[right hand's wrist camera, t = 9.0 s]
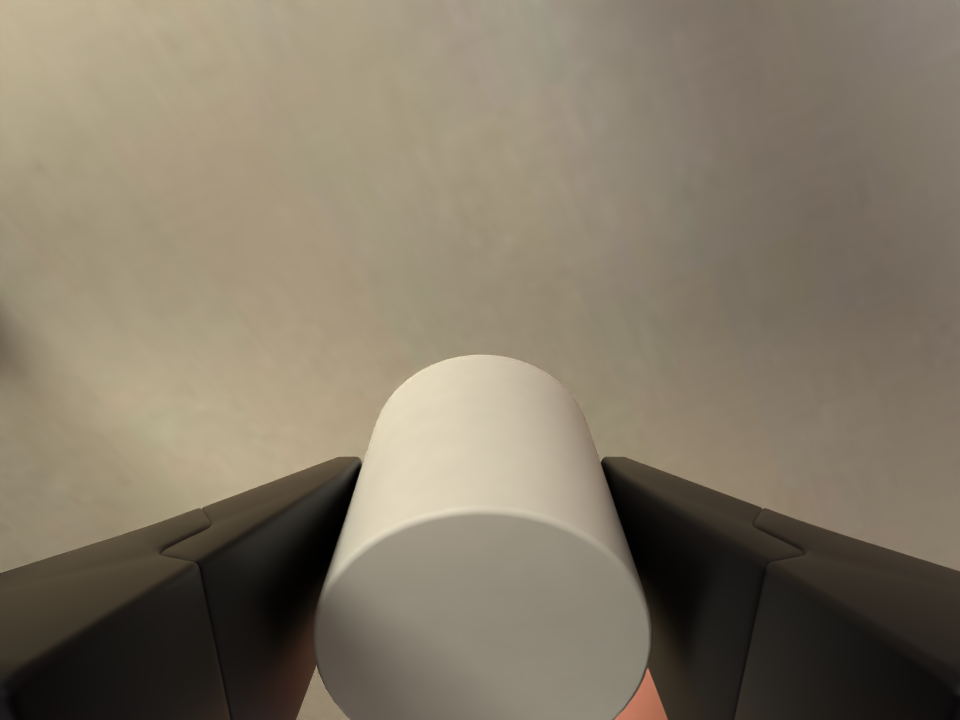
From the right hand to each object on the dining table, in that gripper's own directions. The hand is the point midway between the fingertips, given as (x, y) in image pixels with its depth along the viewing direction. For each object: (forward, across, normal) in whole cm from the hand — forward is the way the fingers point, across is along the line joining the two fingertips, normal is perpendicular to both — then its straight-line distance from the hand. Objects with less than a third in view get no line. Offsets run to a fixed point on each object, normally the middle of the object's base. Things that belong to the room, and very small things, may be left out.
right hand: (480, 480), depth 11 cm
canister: (+1, 0, 0) cm, 1 cm away
